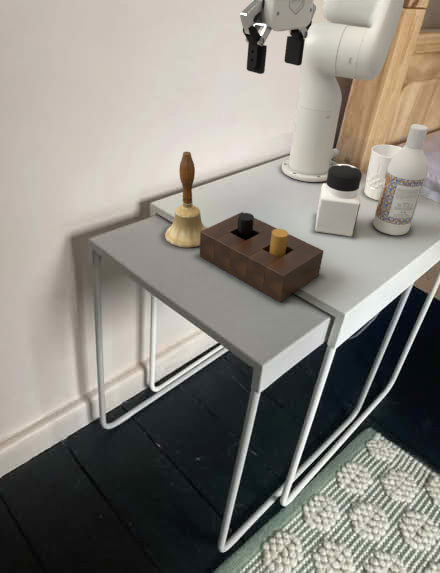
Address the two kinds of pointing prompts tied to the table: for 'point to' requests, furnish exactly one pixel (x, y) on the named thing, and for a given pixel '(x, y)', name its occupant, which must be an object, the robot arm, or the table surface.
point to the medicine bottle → (339, 201)
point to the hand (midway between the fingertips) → (274, 67)
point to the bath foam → (402, 185)
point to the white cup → (378, 168)
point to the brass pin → (278, 242)
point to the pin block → (260, 258)
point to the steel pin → (245, 226)
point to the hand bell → (186, 211)
